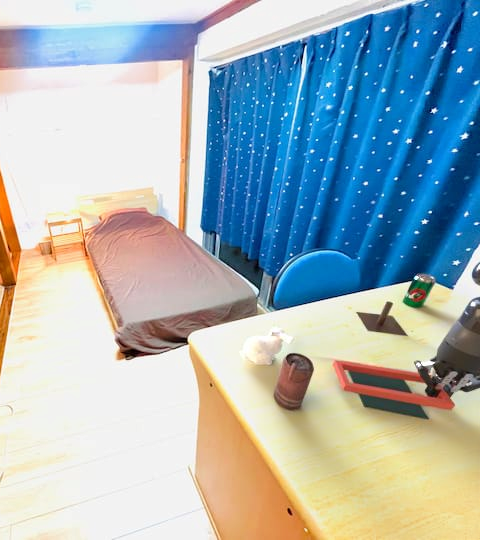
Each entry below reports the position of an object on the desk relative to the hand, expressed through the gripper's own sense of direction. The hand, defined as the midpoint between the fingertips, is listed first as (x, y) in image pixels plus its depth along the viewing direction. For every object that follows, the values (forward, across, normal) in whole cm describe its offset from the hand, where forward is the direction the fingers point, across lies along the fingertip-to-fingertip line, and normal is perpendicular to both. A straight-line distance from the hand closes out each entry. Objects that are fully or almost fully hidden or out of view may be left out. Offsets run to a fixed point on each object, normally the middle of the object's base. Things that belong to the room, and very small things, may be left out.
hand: (434, 397), depth 67 cm
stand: (+1, 0, -28) cm, 28 cm away
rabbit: (+1, +36, -5) cm, 37 cm away
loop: (-1, +10, 0) cm, 10 cm away
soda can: (+1, -13, -42) cm, 44 cm away
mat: (+1, +10, 0) cm, 10 cm away
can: (+1, +32, +9) cm, 34 cm away
